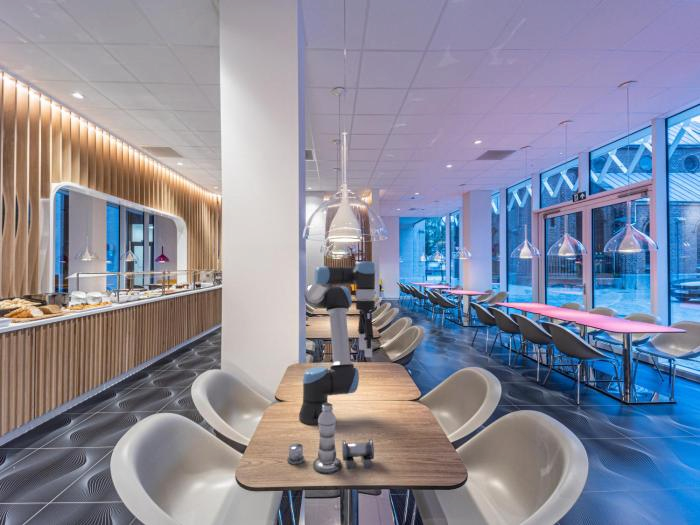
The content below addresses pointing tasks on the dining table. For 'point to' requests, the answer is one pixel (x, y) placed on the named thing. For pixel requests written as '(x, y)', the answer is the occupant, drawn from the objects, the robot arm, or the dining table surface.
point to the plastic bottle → (327, 435)
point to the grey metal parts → (348, 457)
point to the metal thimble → (295, 454)
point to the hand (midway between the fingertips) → (365, 353)
